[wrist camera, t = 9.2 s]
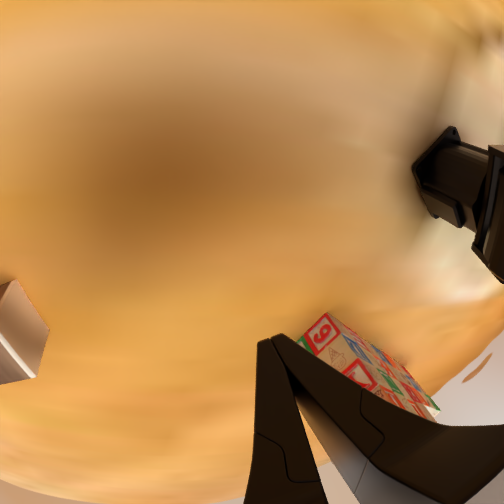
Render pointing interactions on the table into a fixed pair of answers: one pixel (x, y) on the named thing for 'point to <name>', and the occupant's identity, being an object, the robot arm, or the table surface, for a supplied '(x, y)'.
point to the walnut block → (19, 335)
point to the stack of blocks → (367, 366)
